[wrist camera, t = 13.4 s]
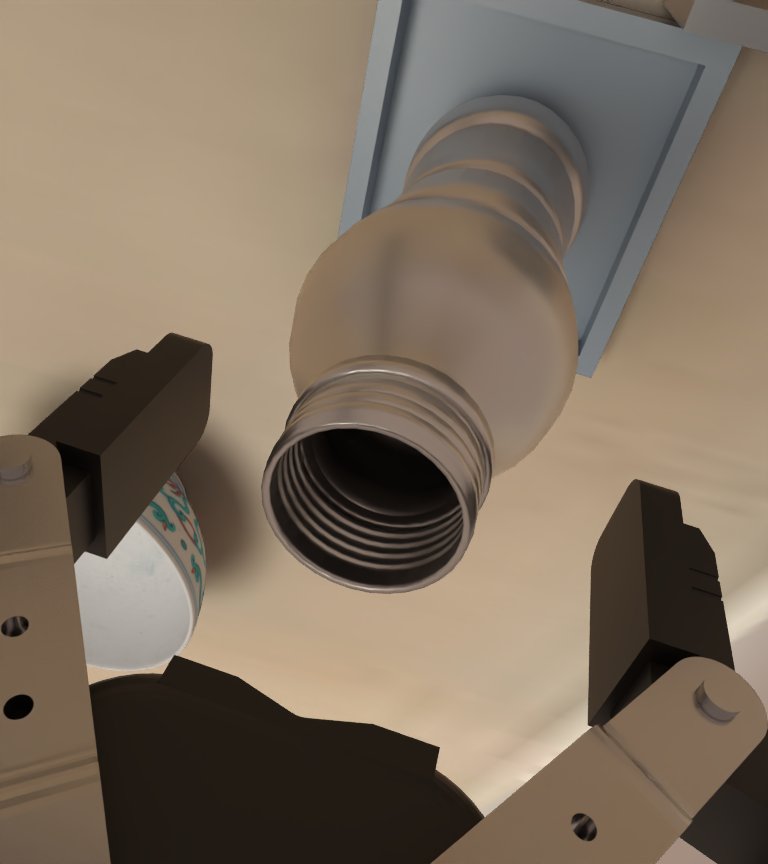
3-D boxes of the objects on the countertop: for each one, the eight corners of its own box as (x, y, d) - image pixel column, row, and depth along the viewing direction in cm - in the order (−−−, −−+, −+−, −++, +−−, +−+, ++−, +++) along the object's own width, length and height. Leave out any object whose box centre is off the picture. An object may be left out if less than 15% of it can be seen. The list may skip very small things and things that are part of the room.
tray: (400, -52, 25) (386, -51, 23) (734, 37, 24) (743, 44, 22) (341, 278, 32) (327, 296, 31) (591, 355, 31) (591, 378, 30)
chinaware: (58, 551, 49) (-20, 640, 43) (-8, 360, 41) (-117, 437, 35) (262, 594, 46) (210, 695, 40) (238, 398, 38) (167, 489, 32)
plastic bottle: (397, 223, 30) (155, 564, 14) (459, 50, 25) (216, 252, 10) (540, 285, 30) (464, 699, 14) (626, 122, 25) (660, 445, 10)
